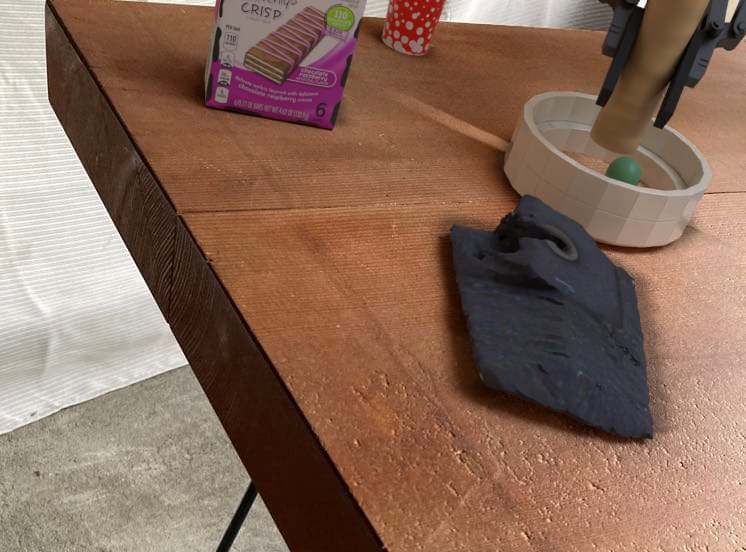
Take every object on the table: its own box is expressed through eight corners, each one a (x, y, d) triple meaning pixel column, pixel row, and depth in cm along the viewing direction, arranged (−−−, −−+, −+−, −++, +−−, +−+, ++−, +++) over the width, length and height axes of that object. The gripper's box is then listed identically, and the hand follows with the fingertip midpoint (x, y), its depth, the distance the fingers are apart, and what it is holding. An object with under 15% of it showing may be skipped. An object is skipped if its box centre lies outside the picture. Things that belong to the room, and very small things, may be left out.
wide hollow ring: (695, 205, 90) (726, 149, 86) (657, 280, 79) (691, 219, 75) (533, 131, 93) (556, 73, 89) (474, 193, 81) (497, 130, 77)
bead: (635, 191, 87) (650, 160, 85) (627, 204, 85) (643, 172, 83) (604, 177, 88) (619, 146, 86) (595, 189, 86) (610, 157, 83)
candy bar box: (204, 110, 80) (236, -120, 68) (202, 81, 83) (233, -142, 71) (337, 133, 83) (390, -83, 71) (330, 105, 86) (380, -106, 74)
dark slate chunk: (433, 398, 62) (458, 338, 58) (446, 224, 77) (466, 168, 73) (660, 460, 63) (697, 404, 60) (630, 277, 78) (658, 224, 75)
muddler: (641, 144, 80) (723, -25, 71) (629, 160, 78) (714, -13, 68) (596, 124, 81) (673, -47, 72) (584, 139, 78) (661, -36, 69)
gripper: (832, -113, 77) (721, 168, 77) (627, -190, 77) (519, 91, 78) (883, -183, 69) (760, 129, 70) (656, -267, 70) (535, 44, 70)
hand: (633, 108), depth 74 cm, fingers closed on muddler, 4 cm apart
